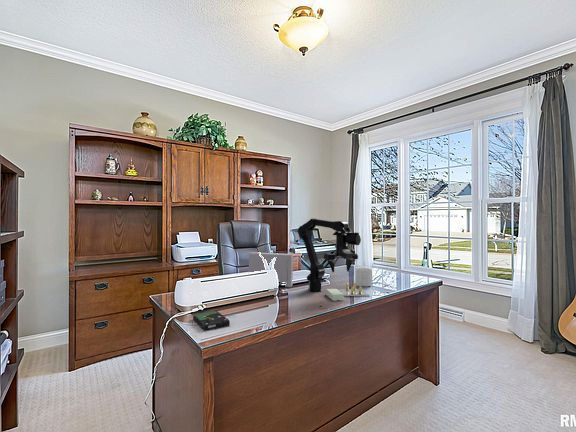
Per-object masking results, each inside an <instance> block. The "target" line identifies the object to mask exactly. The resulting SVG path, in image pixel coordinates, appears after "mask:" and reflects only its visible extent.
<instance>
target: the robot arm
mask: <svg viewBox="0 0 576 432" xmlns="http://www.w3.org/2000/svg"><path fill="white" fill-rule="evenodd" d="M316 227H321V228H328V229H331V230H333V231H335V232H333V233H332V236H336V237H335V239H336V241H335V245H334V248H335V251H334V253H324V255H323V259H324V260H325V261H327V263H328V265H329V266H330V269H331V272H332V273H335V263H336V260H335V259H344V260H345V261H346V262H345V263H346V264H345V265H346V272H347V273H349V272H350V270H351V267H352V264H353V263H354V262H356V260H359V255H358V253H356V250H355V249H352V248H351V249H349V247H348V245H350V246H351V245H352V246H359V245H360V244H361V243H362V242H361V240H362V239H361V235H360V232H357V231H356V232H353V231H352V230H351V228H350V226H349V223H348V222H347V221H346V220H342V221H341V220H335V221H331V220H325V219H317V218H310V219H309V220H308V221H306V222H305V223H303V224H302V225H300V226H299V227H298V229H297V233H298V235H299V237H300V239H301V240H302V241H303V243H304V247H305V250H306V253H307V257H308V260H309V263H310V267H309V271H310V272H309V274H308V275H307V276H306V280H307V282H308V292H311V293H313V292H314V293H315V292H316V293H317V292H318V293H319V292H322V282H321V280H322V279H323V277H324V275H326V274H325V273H326V272H325V271H326V269H325V267H324V264H323V263H320V261H319V259H318V256H317V254H316V249H315V246H314V241H313V240H312V237H313V231H314V230H315V228H316Z"/></svg>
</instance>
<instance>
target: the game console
mask: <svg viewBox="0 0 576 432" xmlns="http://www.w3.org/2000/svg"><path fill="white" fill-rule="evenodd" d="M259 253H261V255H262V256H263V257H264V258H265V259H266V260H267V263H268V264H269V263H270V261H271V259H272V258H274V257H277V258H276V261H275V264H274V268H275V270H276V272H277V274H278V279H279V282H287V284H286V285H285V287H284V288H292V287H293V283H292V280H293V279H294V278H293V276H294V275H293V274H294V272H293V271H294V269H293V268H294V254H293V253H277V252H275V253H274V252H254V251H253V252H251V251H250V252H249V253H248V273H249V272H254V271H261V270H264V269H265V268H264V263H263V261H262V258H261V257H260V256H259Z"/></svg>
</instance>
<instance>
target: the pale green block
mask: <svg viewBox="0 0 576 432" xmlns="http://www.w3.org/2000/svg"><path fill="white" fill-rule="evenodd" d="M325 290H326V291H325V295H326V296H327V297H328V298H329V299H330V298H331V299H330V300H332V301H333V302H337V300H340V301H344V300H345V296H344V294H343V293H342V292H340V291H339V288H338V289H337V288H326V289H325Z"/></svg>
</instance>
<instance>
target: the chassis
mask: <svg viewBox="0 0 576 432" xmlns="http://www.w3.org/2000/svg"><path fill="white" fill-rule="evenodd" d="M338 290H339V291H340V292H342V293H343V294H344V297H345V296H356V297H370V293H368V292H367V291H365V290H364V289H363V286H358V289H357V286H356V282H353V284H352V285H351V286H350V285H349V282H346V283H345V288H342V289H339V288H338Z"/></svg>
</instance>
